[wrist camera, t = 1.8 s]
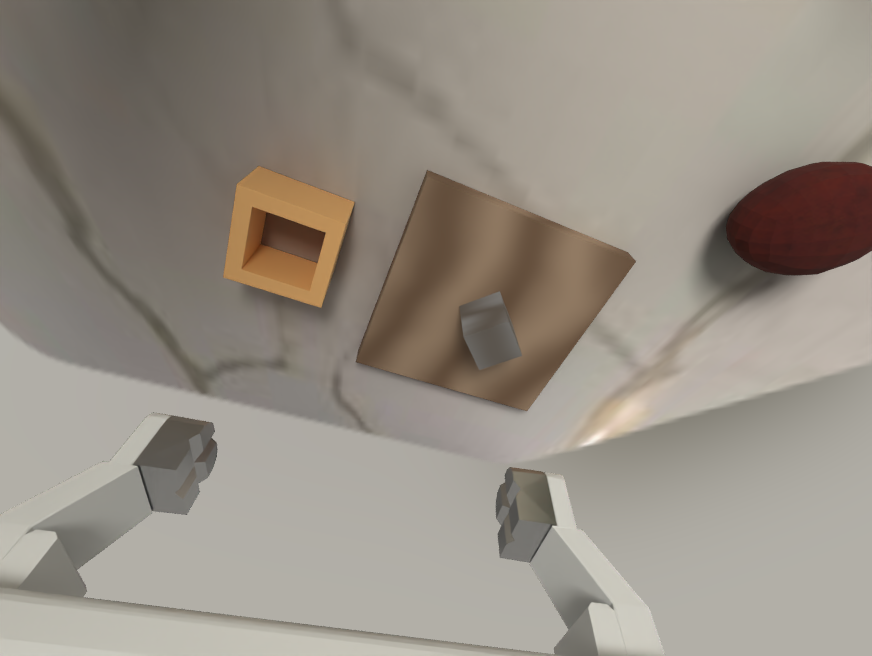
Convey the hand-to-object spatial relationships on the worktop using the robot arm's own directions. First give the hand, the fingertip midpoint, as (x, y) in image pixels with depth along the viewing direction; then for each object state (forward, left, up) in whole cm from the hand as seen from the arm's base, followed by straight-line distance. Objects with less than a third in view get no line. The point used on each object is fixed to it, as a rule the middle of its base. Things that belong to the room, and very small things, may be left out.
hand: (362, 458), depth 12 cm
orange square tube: (-6, -4, -21) cm, 22 cm away
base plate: (+9, -5, -21) cm, 24 cm away
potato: (+25, +10, -22) cm, 34 cm away
